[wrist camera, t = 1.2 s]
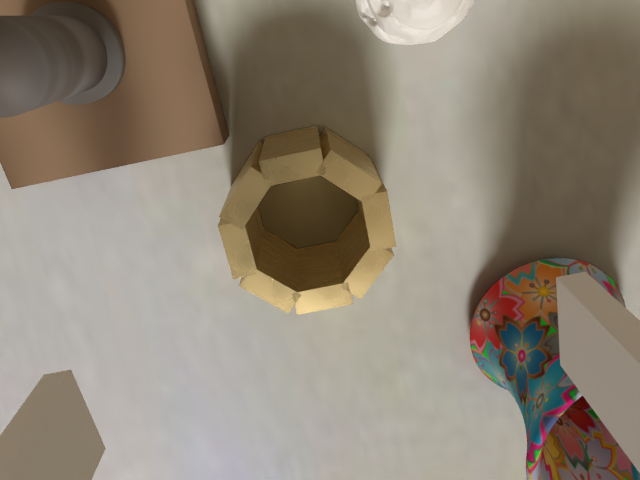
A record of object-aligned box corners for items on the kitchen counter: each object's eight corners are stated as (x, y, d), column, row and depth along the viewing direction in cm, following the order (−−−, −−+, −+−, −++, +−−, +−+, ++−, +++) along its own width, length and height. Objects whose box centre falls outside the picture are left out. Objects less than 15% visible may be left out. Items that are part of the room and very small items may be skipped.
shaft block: (31, 177, 28) (-86, 247, 19) (-61, -46, 24) (-254, -78, 16) (229, 135, 27) (197, 188, 19) (166, -99, 24) (93, -161, 15)
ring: (255, 276, 30) (246, 324, 25) (219, 146, 27) (202, 172, 23) (388, 250, 30) (403, 293, 25) (364, 115, 27) (378, 136, 22)
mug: (470, 241, 30) (555, 353, 20) (641, 246, 30) (807, 359, 20) (441, 424, 34) (499, 591, 24) (591, 427, 35) (707, 591, 25)
